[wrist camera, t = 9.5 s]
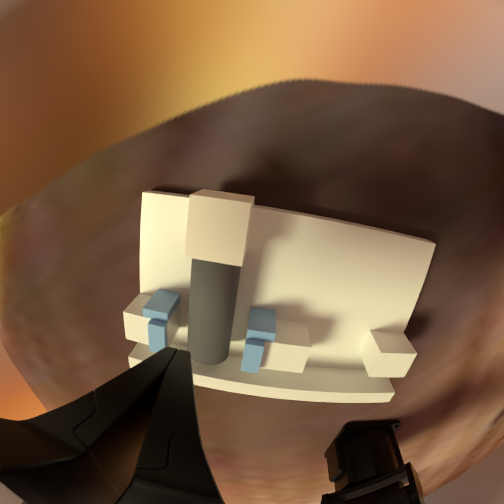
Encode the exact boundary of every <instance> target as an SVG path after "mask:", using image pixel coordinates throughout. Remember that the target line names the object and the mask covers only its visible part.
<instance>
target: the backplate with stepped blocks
mask: <svg viewBox="0 0 504 504" xmlns="http://www.w3.org/2000/svg"><path fill="white" fill-rule="evenodd" d="M189 197H190V195H185V194H177V193H169V192H160V191H151V190H149V191H145V192H143V194H142V209H141V230H140V294H139V295H138V296H137V297H136V298H135V299H134V300H133V301H132V303H131V304H130V305H129V306H128V307H127V308H126V309H125V310H124V311H123V314H124V325H125V334H126V339H129V340H132V341H136V342H138V343H137V344H136V346H135V347H134V349H133V350H132V352H131V353H130V355H129V356H128V357H129V364H130V368H132V367H133V366H135V365H137V364H138V363H140V362H142V361H143V360H145V359H147V358H148V357H150V356H151V355H153V354H155V353H156V352H158V351H159V350H161V349H163V348H164V347H166V346H169V347H173V348H177V349H178V350H179V349H182V350H186V351H187V337H188V312H189V293H190V277H191V263H192V258H188V257H184V254H185V241H186V229H187V217H188V207H189ZM435 245H436V244H435V243H433V242H431V241H430V240H427V239H423V238H419V237H415V236H411V235H407V234H402V233H398V232H394V231H389V230H385V229H381V228H376V227H371V226H367V225H362V224H357V223H353V222H348V221H343V220H338V219H333V218H328V217H323V216H317V215H312V214H307V213H301V212H296V211H290V210H284V209H279V208H273V207H267V206H261V205H253V212H252V218H251V225H250V231H249V238H248V245H247V251H246V254H245V258H244V261H243V265H242V267H241V271H240V278H239V285H238V292H237V299H236V306H235V313H234V320H233V327H232V334H231V341H230V348H229V355H228V358H227V359H226V360H225V361H224V362H222V363H220V364H216V365H204V364H200V363H198V362H195V361H194V360H192V359H191V363H192V373H193V383H194V385H198V386H203V387H208V388H213V389H218V390H224V391H229V392H235V393H241V394H248V395H255V396H262V397H270V398H279V399H289V400H301V401H316V402H341V403H373V402H389V401H390V399H391V398H392V396H393V395H394V393H395V392H394V389H393V387H392V385H391V382H390V380H389V378H388V377H405V375H406V373H407V371H408V370H409V368H410V366H411V364H412V362H413V361H414V359H415V357H416V355H417V353H416V351H415V350H414V348H413V347H412V345H411V343H410V342H409V340H408V339H407V337H406V336H405V334H404V330H405V328H406V326H407V324H408V321H409V319H410V316H411V314H412V312H413V309H414V307H415V304H416V302H417V299H418V296H419V294H420V291H421V288H422V286H423V283H424V280H425V277H426V274H427V271H428V268H429V265H430V262H431V259H432V255H433V252H434V249H435Z"/></svg>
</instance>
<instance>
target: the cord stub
mask: <svg viewBox="0 0 504 504" xmlns="http://www.w3.org/2000/svg"><path fill="white" fill-rule="evenodd" d="M254 199H255V196H249V195H242V194H236V193H229V192H222V191H214V190H207V189H202V190H200V191H197V192H195V193H192V194H190V197H189V207H188V217H187V229H186V241H185V254H184V257H188V258H192V263H191V277H190V293H189V312H188V337H187V351H190V353H191V359H192V360H194V361H195V362H198V363H200V364H204V365H216V364H220V363H222V362H224V361H225V360H226V359H227V358H228V355H229V348H230V341H231V334H232V327H233V320H234V313H235V306H236V299H237V292H238V285H239V278H240V271H241V267H242V265H243V261H244V258H245V254H246V251H247V245H248V238H249V231H250V225H251V218H252V212H253V205H254Z"/></svg>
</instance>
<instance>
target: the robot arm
mask: <svg viewBox="0 0 504 504" xmlns="http://www.w3.org/2000/svg"><path fill="white" fill-rule="evenodd" d="M94 391H95V392H94ZM94 391H91V392H89V393H88V394H86V395H84V396H82V397H80V398H78V399H76V400H75V401H73V402H70V403H68V404H66V405H64V406H61V407H59V408H57V409H54V410H52V411H49V412H47V413H44V414H42V415H39V416H37V417H34V418H31V419H27V420H21V421H15V420H8V419H3V418H0V504H225V503H224V501H223V499H222V497H221V494H220V492H219V490H218V487H217V485H216V482H215V480H214V477H213V475H212V472H211V470H210V467H209V464H208V462H207V459H206V455H205V452H204V449H203V446H202V441H201V436H200V430H199V424H198V416H197V408H196V400H195V392H194V383H193V373H192V363H191V353H190V351H186V350H182V349H179V350H178V349H177V348H173V347H169V346H166V347H164V348H163V349H161V350H159V351H158V352H156V353H155V354H153V355H151V356H150V357H148V358H147V359H145V360H143V361H142V362H140V363H138V364H137V365H135V366H133V367H132V368H130V369H128V370H127V371H125V372H123V373H122V374H120V375H118V376H117V377H115V378H113V379H112V380H110V381H108V382H107V383H105V384H103V385H102V386H100V387H98V388H96V389H95V390H94ZM400 426H401V423H400V421H388V422H373V423H349V424H346V425H344V426H343V428H342V429H341V431H340V432H339V434H338V435H337V437H336V438H335V439H334V440H333V442H332V443H331V445H330V446H329V448H328V449H327V450H326V453H325V454H324V455H325V458H327V464H328V473H329V480H330V481H331V482H334V483H335V492H334V493H330V494H328V493H327V494H324V495H322V500H321V504H425V502H424V496H423V490H422V486H421V483H420V480H419V478H418V475H417V472H416V471H415V469H414V467H413V466H412V464H411V463H410V462H409V463H407V464H405V465H404V462H403V459H402V456H401V453H400V449H399V446H398V443H397V440H396V437H395V434H394V433H395V432H396V431H397V430H398V428H399V427H400ZM406 483H409V485H407V486H405V487H404V484H406Z"/></svg>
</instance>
